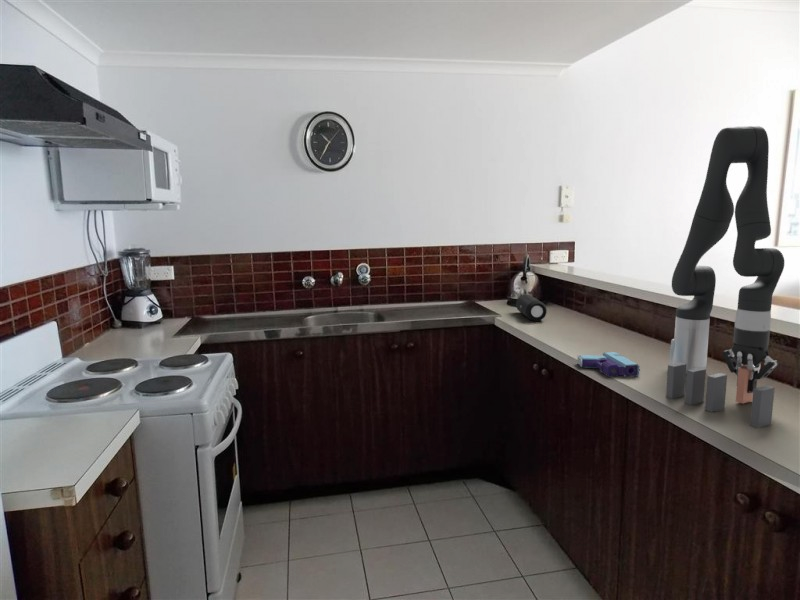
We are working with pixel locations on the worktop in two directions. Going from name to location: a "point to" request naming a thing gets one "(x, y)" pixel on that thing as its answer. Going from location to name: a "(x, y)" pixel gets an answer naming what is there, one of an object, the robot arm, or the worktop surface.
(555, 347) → the worktop surface
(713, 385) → the domino
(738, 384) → the domino
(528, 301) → the portable speaker
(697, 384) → the domino
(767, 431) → the worktop surface
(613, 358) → the pistol
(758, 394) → the domino
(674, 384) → the domino
